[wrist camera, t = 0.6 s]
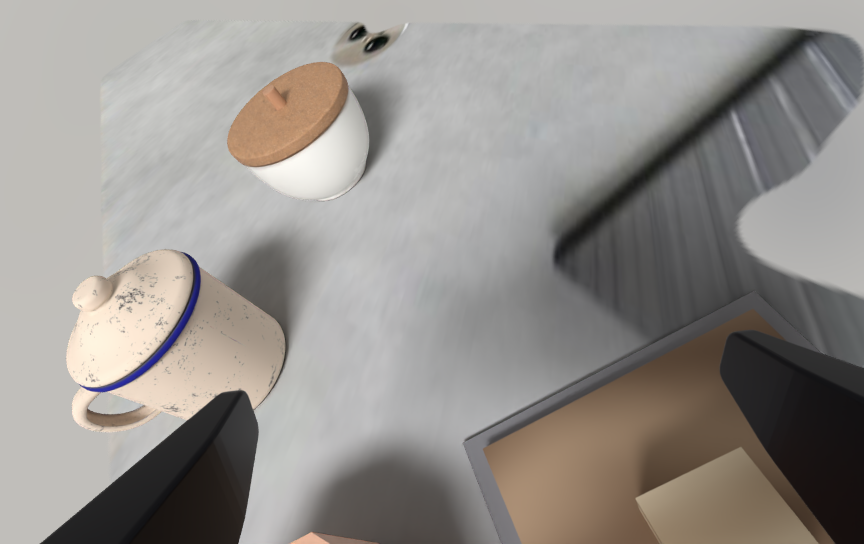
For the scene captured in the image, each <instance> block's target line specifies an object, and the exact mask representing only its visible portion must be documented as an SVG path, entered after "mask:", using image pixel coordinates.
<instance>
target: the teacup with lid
mask: <svg viewBox="0 0 864 544" xmlns="http://www.w3.org/2000/svg"><path fill="white" fill-rule="evenodd" d="M72 301H73V304H74V306H75V307H77V308H78V309H80V310H81V311H80V314H79V318H78V321H77V323H76V325H75V327H74V329H73V331H72V334H71V337H70V340H69V344H68V348H67V358H66V359H67V367H68V370H69V373H70V374H71V376H72V377H73V379H74V380H75V381H76V382H77V383H78V384H79V385H80V386H81V388H80V389H79V390H78V392H77V393H76V395H75V396H74V399H73V402H72V413H73V417H74V419H75V421H76V422H77V423H78V424H79V425H80V426H81V427H83V428H86V429H88V430H92V431H98V432H118V431H124V430H129V429H132V428H136V427H138V426H141V425H143V424H145V423H147V422H149V421H150V420H152V419H153V418H154V417H156V416H157V415H158V414H160V413H161V412H162V411H163V412H165V413H168V414H171V415H174V416H177V417H180V418H182V419H185V420H188V419H190V418H191V417H192V416H193V415H194V414H196V413H197V412H198V411H199V410H200V409H202V408H203V407H204V406H205V405H206V404H208V403H209V402H210V401H211V400H212V399H214V398H215V397H216V396H217V395H219V394H220V393H222V392H227V391H235V390H243V391H245V392H246V393H247V394H248V396H249V399H250V402H251V405H252V408H253V410H254V409H255V408H256V407H257V406H258V405H259V404H260V403H261V402H262V401H263V400H264V398H265V397H266V396H267V395H268V393H269V392H270V390H271V389H272V387H273V385H274V384H275V382H276V380H277V378H278V376H279V373H280V371H281V368H282V365H283V361H284V356H285V338H284V334H283V331H282V328H281V326H280V325H279V323H278V322H277V321H276V320H275V319H274V318H273V317H271V316H270V315H268V314H267V313H265V312H264V311H263V310H261V309H260V308H258V307H257V306H255V305H254V304H252V303H251V302H250V301H248V300H247V299H245V298H244V297H242V296H241V295H239V294H238V293H236V292H235V291H234V290H232V289H231V288H229V287H228V286H226V285H225V284H223V283H222V282H220V281H219V280H218V279H216V278H215V277H213V276H212V275H210V274H209V273H207V272H206V271H204V270H203V269H202V268H200V267H199V266H198V264H197V262H196V261H195V259H194V258H192V257H191V256H190V255H188V254H186V253H183V252H179V251H176V250H166V249H164V250H157V251H153V252H149V253H147V254H144V255H142V256H140V257H138V258H136V259H135V260H133V261H131V262H130V263H128V264H127V265H125V266H124V267H123V268H121V269H120V270H119V271H118V272H116V273H115V274H113V275H111V276H110V277H108V278H107V279H106V278H104V277H102V276H91V277H89V278H87V279H86V280H85V281H83V282H82V283H81V284H80V285H79V286H78V287H77V289H76V290H75V292H74V294H73V297H72ZM101 392H109V393H112V394H114V395H117V396H120V397H123V398H126V399H129V400H131V401H134V402H137V403H140V404H143V406H142V407H140V408H138V409H136V410H133V411H130V412H127V413H122V414H100V413H95V412H93V411H90V410H88V409H87V408H88V406H89V404H90V403H91V402H92V401H93V400H94V399H95V397H97V396H98V395H99V394H100V393H101Z"/></svg>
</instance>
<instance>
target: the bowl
mask: <svg viewBox="0 0 864 544" xmlns="http://www.w3.org/2000/svg"><path fill="white" fill-rule="evenodd" d="M290 544H379V543H376V542H370V541H364V540H358V539H352V538H346V537H340V536H334V535H328V534H322V533H315V532H311V533H309V534H307V535H305V536H303V537H301V538H299V539H297V540H295V541H293V542H292V543H290Z"/></svg>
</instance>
